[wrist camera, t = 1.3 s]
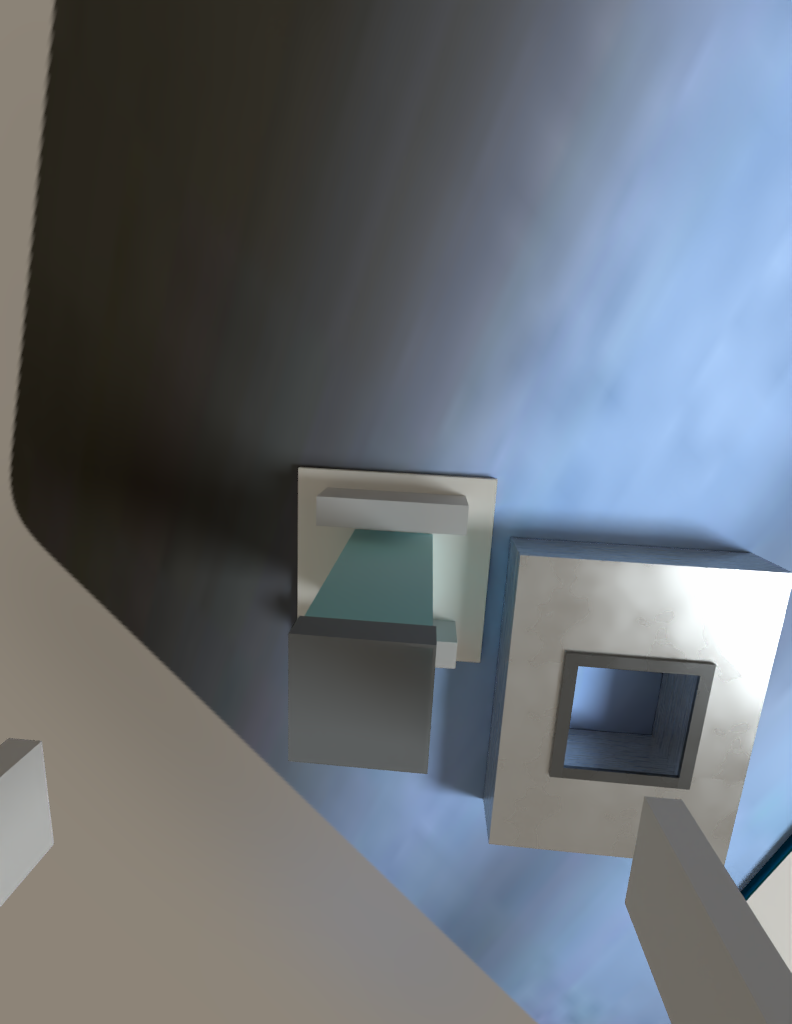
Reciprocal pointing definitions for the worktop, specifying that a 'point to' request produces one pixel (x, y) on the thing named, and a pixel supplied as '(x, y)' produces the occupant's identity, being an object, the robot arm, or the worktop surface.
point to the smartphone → (774, 900)
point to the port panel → (628, 646)
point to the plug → (366, 658)
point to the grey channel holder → (413, 509)
